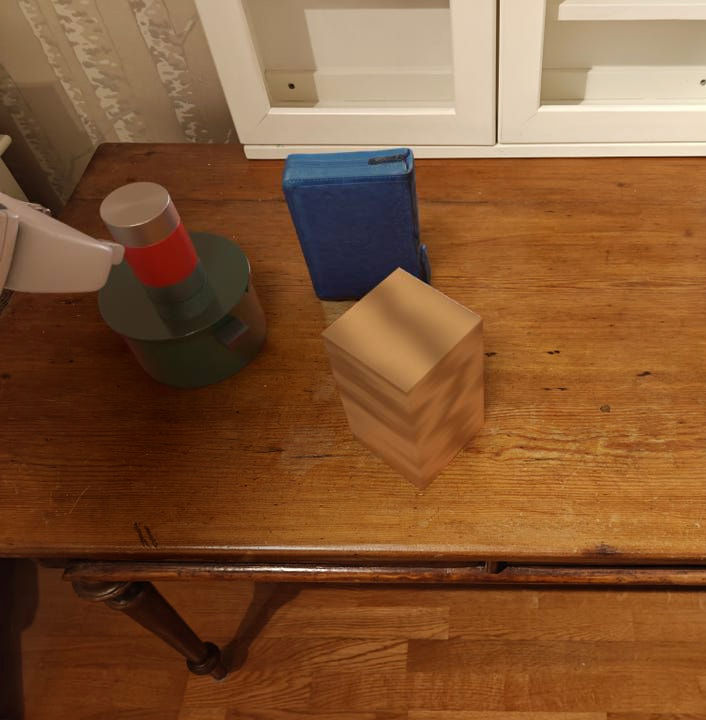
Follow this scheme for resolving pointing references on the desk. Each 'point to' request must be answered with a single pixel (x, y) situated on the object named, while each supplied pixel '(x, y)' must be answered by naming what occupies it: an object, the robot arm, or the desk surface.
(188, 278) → the can
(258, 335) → the pot
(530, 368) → the desk surface
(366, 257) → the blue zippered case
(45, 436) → the desk surface
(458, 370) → the block
